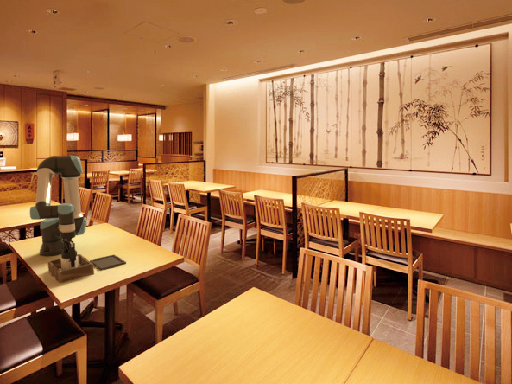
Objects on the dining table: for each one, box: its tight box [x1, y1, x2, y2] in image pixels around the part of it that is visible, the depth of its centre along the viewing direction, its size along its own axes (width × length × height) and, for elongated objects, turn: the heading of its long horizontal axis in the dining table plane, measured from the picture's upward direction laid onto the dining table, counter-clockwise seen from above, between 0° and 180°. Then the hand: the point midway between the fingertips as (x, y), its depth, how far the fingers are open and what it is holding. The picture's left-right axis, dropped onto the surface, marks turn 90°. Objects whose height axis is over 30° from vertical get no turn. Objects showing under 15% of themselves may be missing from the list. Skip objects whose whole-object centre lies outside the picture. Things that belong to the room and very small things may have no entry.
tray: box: [89, 254, 127, 271], centre depth 203 cm, size 18×15×1 cm
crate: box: [47, 253, 95, 284], centre depth 188 cm, size 22×17×6 cm
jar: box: [59, 249, 80, 271], centre depth 187 cm, size 9×8×12 cm
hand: (70, 269), depth 187 cm, fingers closed on jar, 7 cm apart
